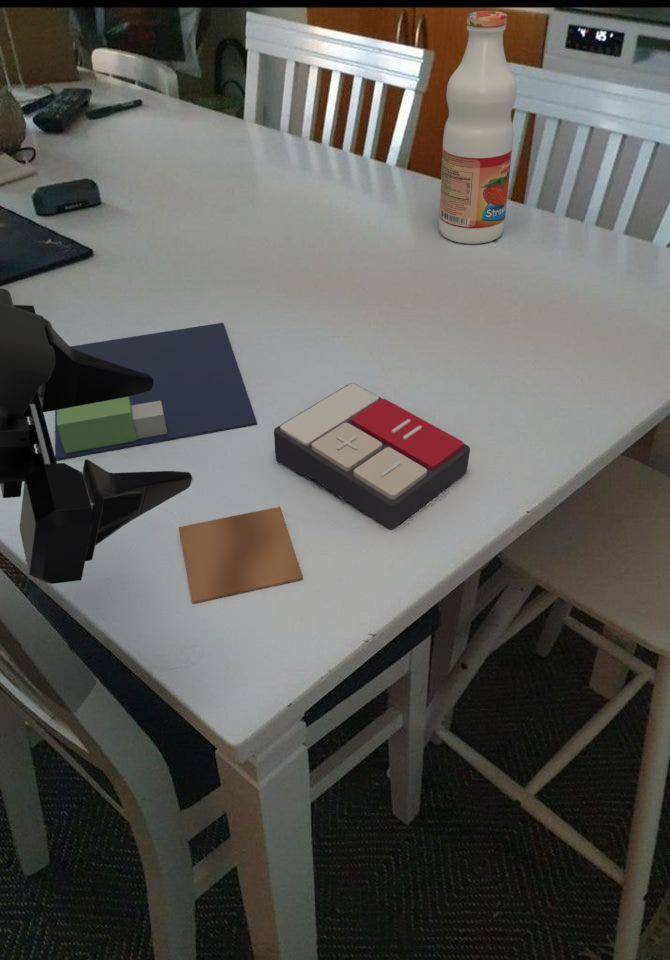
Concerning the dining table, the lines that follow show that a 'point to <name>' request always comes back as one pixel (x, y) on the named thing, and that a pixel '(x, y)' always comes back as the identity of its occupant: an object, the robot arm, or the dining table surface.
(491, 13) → the fruit juice
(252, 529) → the coaster
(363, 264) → the dining table surface
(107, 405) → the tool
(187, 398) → the napkin
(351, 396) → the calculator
